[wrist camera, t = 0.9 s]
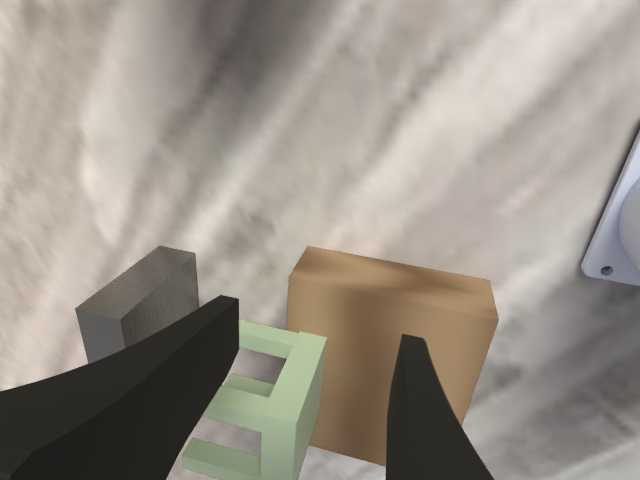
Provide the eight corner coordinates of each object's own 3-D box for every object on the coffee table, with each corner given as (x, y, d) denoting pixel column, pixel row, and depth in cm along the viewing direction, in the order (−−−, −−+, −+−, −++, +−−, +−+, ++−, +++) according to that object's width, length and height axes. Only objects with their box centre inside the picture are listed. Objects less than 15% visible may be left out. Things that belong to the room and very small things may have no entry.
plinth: (489, 280, 21) (499, 319, 18) (440, 432, 27) (441, 482, 24) (307, 246, 23) (288, 276, 20) (296, 395, 29) (280, 437, 26)
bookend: (194, 253, 25) (120, 319, 19) (201, 350, 29) (140, 431, 23) (159, 245, 26) (75, 308, 20) (170, 342, 29) (102, 420, 23)
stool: (327, 337, 21) (296, 423, 16) (318, 410, 24) (290, 503, 19) (230, 315, 22) (174, 390, 17) (231, 387, 25) (183, 470, 20)
